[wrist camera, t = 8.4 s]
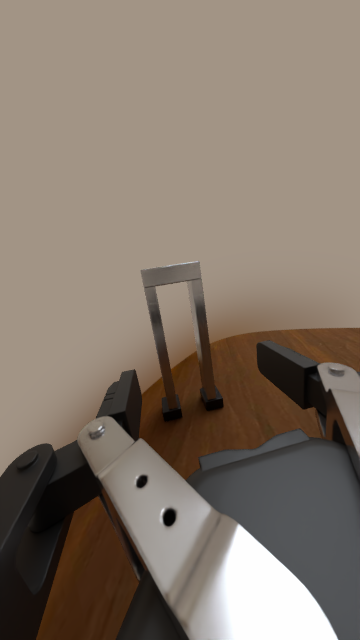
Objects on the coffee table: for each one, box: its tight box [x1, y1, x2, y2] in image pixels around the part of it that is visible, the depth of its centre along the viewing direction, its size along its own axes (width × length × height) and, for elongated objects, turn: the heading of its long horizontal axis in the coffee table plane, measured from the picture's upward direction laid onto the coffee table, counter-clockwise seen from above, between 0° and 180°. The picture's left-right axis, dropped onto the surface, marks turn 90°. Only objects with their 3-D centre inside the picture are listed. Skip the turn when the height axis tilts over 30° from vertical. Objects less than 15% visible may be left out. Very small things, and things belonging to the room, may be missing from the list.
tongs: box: [141, 261, 224, 421], centre depth 18 cm, size 7×2×16 cm, turn 99°
